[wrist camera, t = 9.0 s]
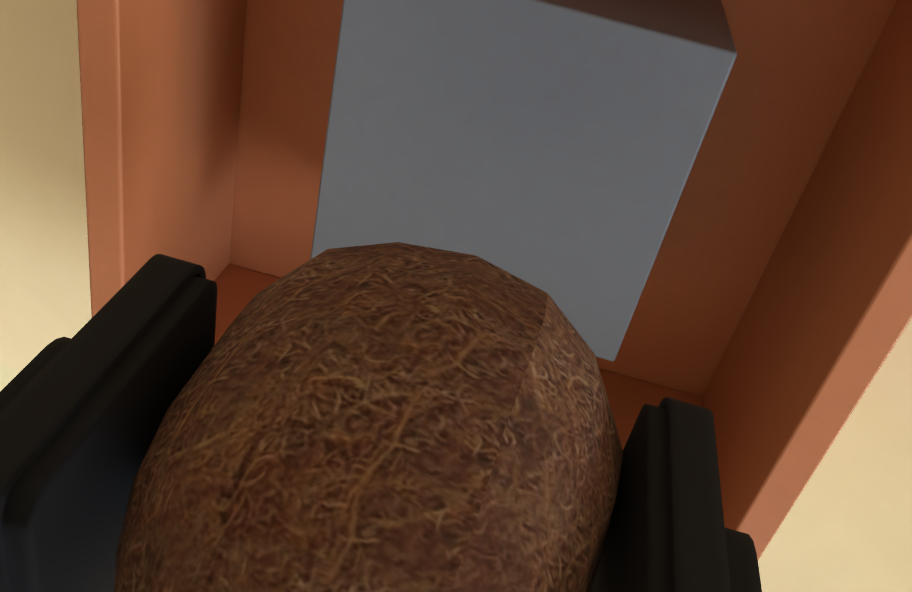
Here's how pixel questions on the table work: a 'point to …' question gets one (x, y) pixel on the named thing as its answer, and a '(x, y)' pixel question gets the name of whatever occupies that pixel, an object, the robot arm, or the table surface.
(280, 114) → the box
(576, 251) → the block
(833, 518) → the table surface
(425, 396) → the coconut
